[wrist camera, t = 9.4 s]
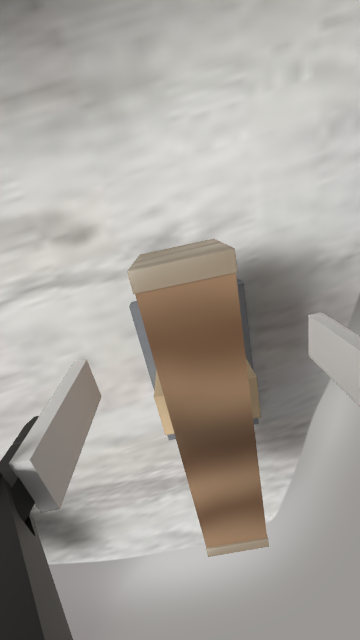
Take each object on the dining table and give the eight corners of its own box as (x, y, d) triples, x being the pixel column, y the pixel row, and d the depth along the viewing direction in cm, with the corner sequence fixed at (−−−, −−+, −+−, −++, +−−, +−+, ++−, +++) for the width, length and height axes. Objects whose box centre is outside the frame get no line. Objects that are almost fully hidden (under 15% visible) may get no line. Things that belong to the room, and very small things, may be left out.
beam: (139, 254, 15) (127, 271, 11) (214, 238, 15) (234, 248, 10) (200, 489, 24) (208, 556, 19) (248, 480, 24) (268, 546, 19)
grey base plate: (131, 302, 23) (118, 331, 17) (239, 279, 23) (264, 301, 17) (169, 431, 29) (169, 484, 23) (255, 415, 29) (276, 465, 23)
